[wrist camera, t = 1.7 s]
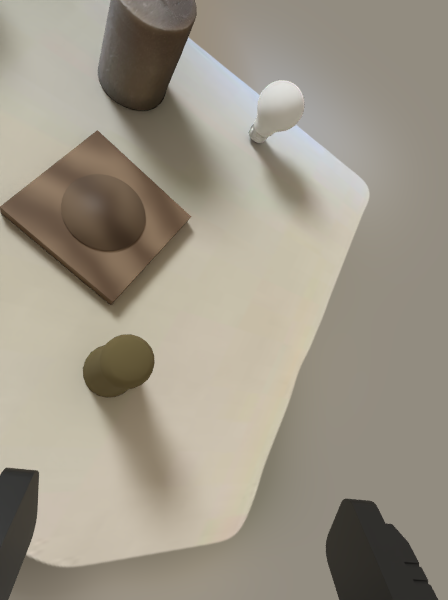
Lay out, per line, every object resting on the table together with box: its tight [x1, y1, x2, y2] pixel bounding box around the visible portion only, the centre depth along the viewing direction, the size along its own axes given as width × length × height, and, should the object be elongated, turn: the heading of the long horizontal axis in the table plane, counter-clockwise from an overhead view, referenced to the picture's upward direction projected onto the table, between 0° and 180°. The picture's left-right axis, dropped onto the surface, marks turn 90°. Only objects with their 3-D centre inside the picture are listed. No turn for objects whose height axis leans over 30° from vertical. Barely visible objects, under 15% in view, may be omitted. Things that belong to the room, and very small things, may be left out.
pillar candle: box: [98, 0, 196, 110], centre depth 52 cm, size 10×10×15 cm
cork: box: [83, 335, 154, 397], centre depth 43 cm, size 6×6×11 cm
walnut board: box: [0, 130, 191, 305], centre depth 51 cm, size 16×16×2 cm
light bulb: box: [249, 80, 304, 143], centre depth 61 cm, size 7×7×11 cm
